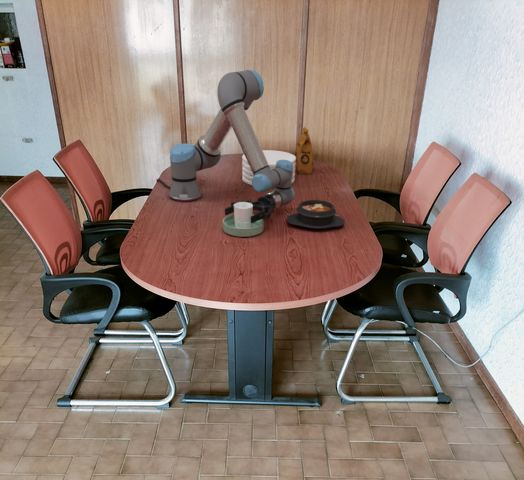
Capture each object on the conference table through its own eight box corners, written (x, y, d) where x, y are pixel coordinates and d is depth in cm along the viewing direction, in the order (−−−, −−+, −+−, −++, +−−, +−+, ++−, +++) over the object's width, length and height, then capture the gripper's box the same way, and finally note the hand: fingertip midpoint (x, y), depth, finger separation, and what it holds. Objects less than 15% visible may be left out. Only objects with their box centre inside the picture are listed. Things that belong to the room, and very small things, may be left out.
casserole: (286, 231, 218) (287, 212, 214) (286, 215, 234) (287, 197, 229) (345, 233, 218) (348, 214, 213) (342, 217, 233) (344, 199, 228)
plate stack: (304, 177, 281) (305, 155, 275) (277, 190, 262) (278, 167, 255) (260, 168, 293) (260, 147, 287) (231, 180, 274) (231, 158, 267)
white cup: (250, 232, 215) (250, 209, 209) (231, 231, 216) (231, 207, 210) (254, 225, 221) (254, 202, 215) (236, 224, 222) (236, 201, 216)
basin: (214, 231, 217) (214, 221, 215) (240, 219, 229) (240, 210, 226) (246, 241, 209) (246, 232, 207) (271, 229, 220) (272, 219, 218)
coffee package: (295, 174, 286) (297, 131, 274) (294, 167, 296) (296, 126, 284) (313, 174, 286) (316, 132, 274) (311, 168, 296) (314, 127, 284)
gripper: (292, 217, 223) (262, 232, 209) (246, 204, 235) (215, 217, 221) (293, 200, 219) (262, 214, 205) (246, 187, 231) (214, 200, 217)
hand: (238, 215), depth 213 cm, fingers open, 13 cm apart
